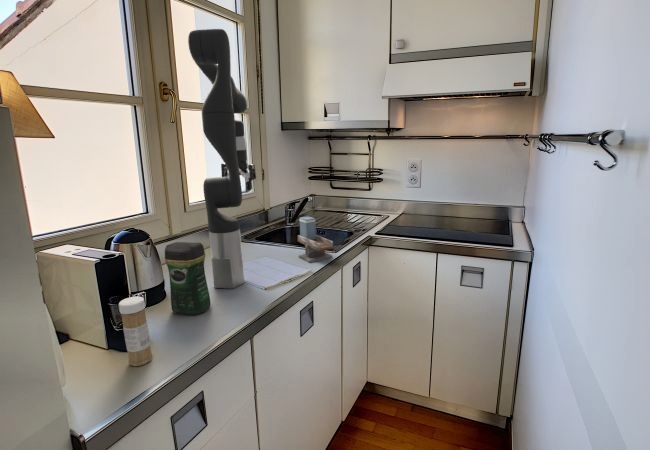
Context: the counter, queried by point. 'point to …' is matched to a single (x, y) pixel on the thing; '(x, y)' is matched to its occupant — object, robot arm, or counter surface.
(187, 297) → the coffee jar
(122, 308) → the sprinkles bottle
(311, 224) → the blue gray lidded container
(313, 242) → the brown cleat
